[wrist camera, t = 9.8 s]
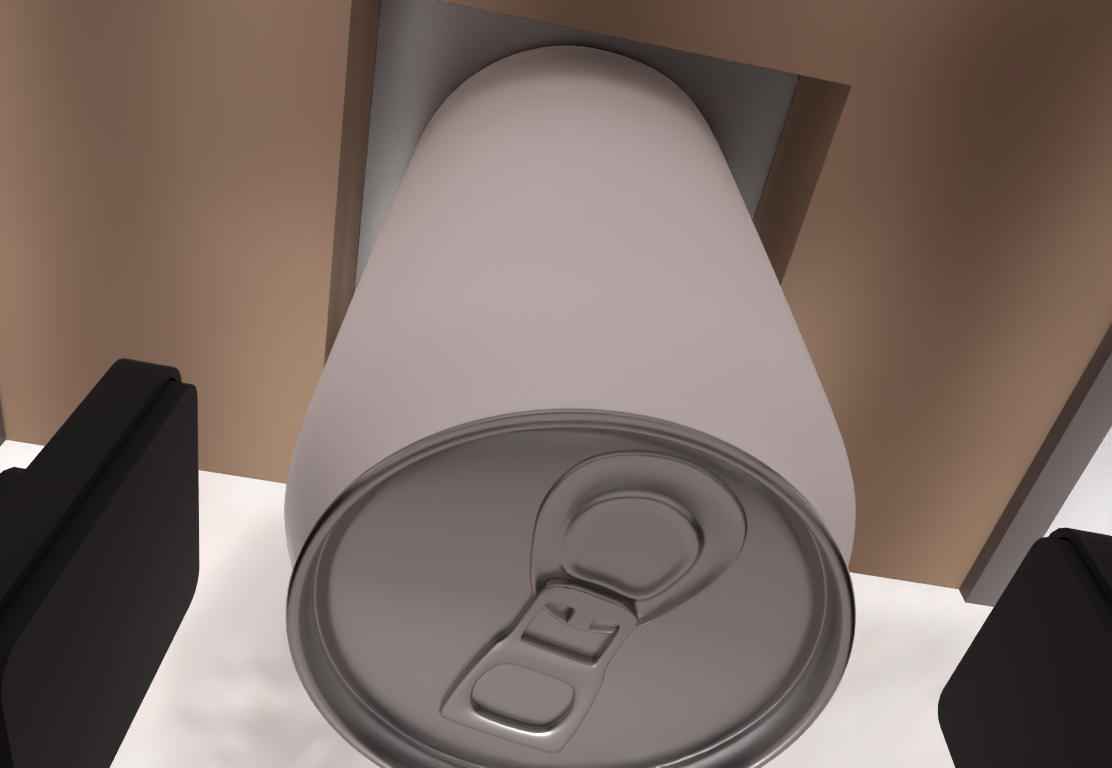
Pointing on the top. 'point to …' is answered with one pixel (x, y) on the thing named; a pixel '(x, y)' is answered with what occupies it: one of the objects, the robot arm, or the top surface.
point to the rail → (781, 222)
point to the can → (569, 451)
